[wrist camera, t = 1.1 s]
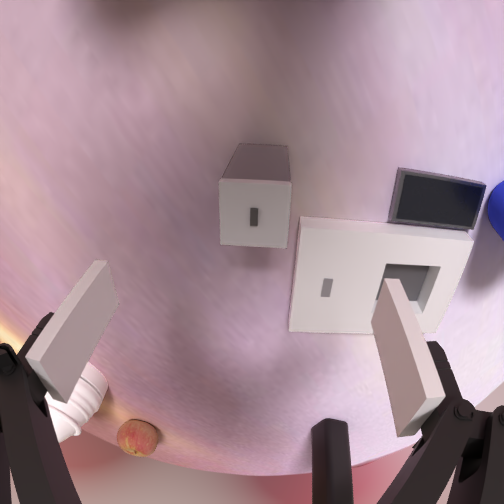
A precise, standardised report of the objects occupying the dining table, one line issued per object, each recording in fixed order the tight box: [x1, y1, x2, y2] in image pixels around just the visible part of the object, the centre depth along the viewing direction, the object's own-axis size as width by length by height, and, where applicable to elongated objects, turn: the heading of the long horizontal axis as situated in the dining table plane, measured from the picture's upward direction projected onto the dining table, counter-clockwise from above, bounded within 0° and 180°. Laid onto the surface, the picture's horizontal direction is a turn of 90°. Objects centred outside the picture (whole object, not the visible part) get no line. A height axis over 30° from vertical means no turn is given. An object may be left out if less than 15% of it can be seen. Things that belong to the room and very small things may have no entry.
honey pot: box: [45, 362, 108, 443], centre depth 46 cm, size 13×13×18 cm
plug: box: [219, 144, 292, 249], centre depth 26 cm, size 5×5×11 cm
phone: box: [389, 167, 486, 230], centre depth 30 cm, size 6×11×1 cm, turn 89°
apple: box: [117, 420, 158, 457], centre depth 58 cm, size 9×9×8 cm
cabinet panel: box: [289, 216, 474, 334], centre depth 35 cm, size 14×20×3 cm
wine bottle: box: [312, 419, 354, 504], centre depth 43 cm, size 6×6×30 cm
